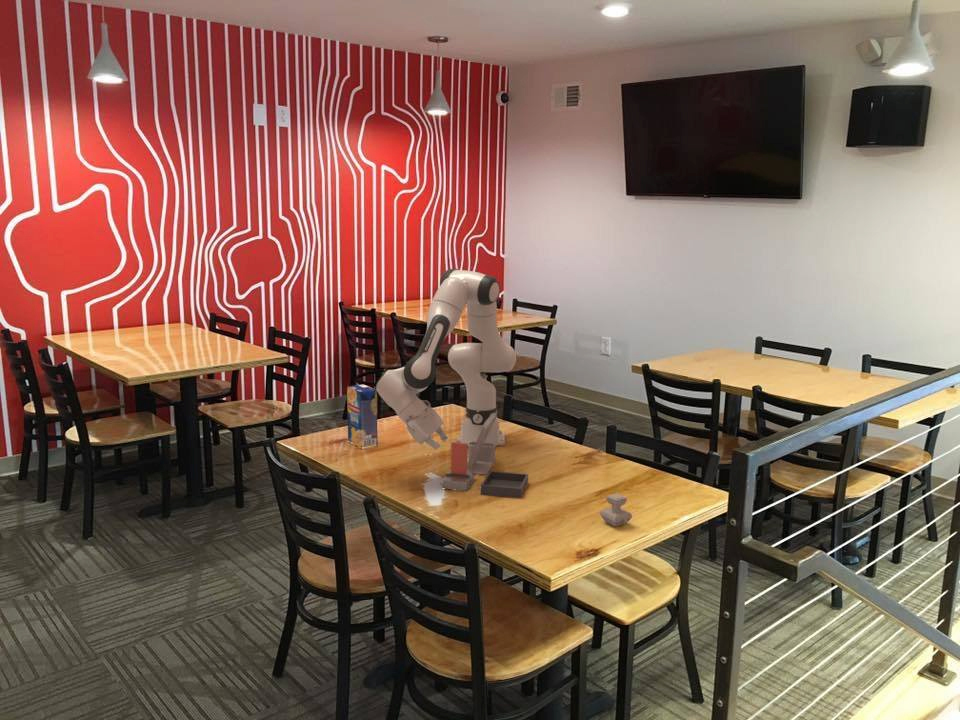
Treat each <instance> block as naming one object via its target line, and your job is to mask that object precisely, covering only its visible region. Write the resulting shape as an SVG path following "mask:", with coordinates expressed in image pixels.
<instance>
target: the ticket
mask: <svg viewBox="0 0 960 720" xmlns="http://www.w3.org/2000/svg"><path fill="white" fill-rule="evenodd" d="M450 445H451V446H450V448H451V450H450V452H451V453H450V454H451V455H450V467H451V468H450V470H451V474H458V475H467V459H468V446H467V443H462V442H459V441H452V442H451V443H450Z"/></svg>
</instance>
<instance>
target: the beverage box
mask: <svg viewBox="0 0 960 720" xmlns="http://www.w3.org/2000/svg"><path fill="white" fill-rule="evenodd" d="M346 395H347V397H346V400H347V401H346V402H347V441H348V440H349V441H350V442H352V443H354V444H356V445H358V446H359V447H361V448H362V447H368V446H373V445H378V392H377V390H376V388H373V387H370V386H368V385H366V384H364V383H363V384H355V385H349V386H347V387H346Z"/></svg>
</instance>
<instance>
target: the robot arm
mask: <svg viewBox="0 0 960 720" xmlns="http://www.w3.org/2000/svg"><path fill="white" fill-rule="evenodd" d="M500 291H501V287H500V282H499V281H498V280H497V278H496V277H494V276H492V275H489V274H484V273H482V272H477V271H474V270H465V269H458V268H449V269H447V270H446V271H444V272H443V273H442V275H441V276H440V279H439V287H438V289H437V290H436V292H435V294H434V296H433V298H432V301H431V303H430V306H429V308H428V312H427V314H426V319H425V321H426V325H427V326H426V331H425V335H424V337H423V339H422V342H421V343H420V346H419V349H418V351H417V352H416V354H414V356H413V357H411V358H410V359H409V360H408V361H407V363H406V364H405V365H404V366H402V367H399V368H396V369H387V370H385V371H384V372H383V374H382V375H381V376H380V378H378V380H377V382H376V386H375V389H376V390H377V394H378V395H379V396H380V397H381V399H382V400H383V401H384V402H385V403H386V404H387V406H389V407H390V408H392V410H393V411H395V414H396V415H397V416H398V418H399V419H400V420H401V421H402V422H403V423H404V424H405V425H406V430H407V432H408V433H409V434H410V435H411V436H412V438H413V439H414V441H416V442H417V444H419V445H423V444H424V443H426V444H427V445H428V446H429V447H432V448H433V449H434V450H435V451H437V450H439V449H440V448H441V444H440V443H439V442H438V441H436V440H434V438H433V436H432V435H433V434H435V433H436V434H437V435H439V437H440V440H441V441H442V442H444V443H445V442H446V441H447V440H448V438H449V436H448V435H447V434H446V433H445V431H444V428H443V427H442V425H444V420H443V419H442V417H441V416H440V415H439V413H438V412H437V411H436V410H435V409H434V408H433V407H432V406H431V403H430V402H429V401H428V400H422V399H420V398H419V397H418V396H417V394H420V393H421V392H423V391H425V390H426V389H427V388H428V387H429V386H431V384H432V383H433V382H434V380H435V377H436V371H437V370H436V361H437V357H438V356H439V352H440V350H441V348H442V345H443V343H444V341H445V339H446V338H447V336H449V334H450V333H452V332H453V330H454V329H455V328H456V326H457V325H458V322H459V321H460V319H461V317H462V314H463V313H464V312H463V311H464V309H465V306H466V329H467V332H468V333H469V334H470V335H471V336H472V337H474V338H475V339H477V340H479V341H480V342H461V343H456V344H453V345H452V346H451V347H450V348H449V351H448V354H447V360H448V365H449V366H450V368H452V369H453V370H454V371H455V372H457V374H458V375H459V376H460V377H461V379H462V381H463V382H464V384H465V389H466V406H465V411H464V412H465V418H463V419H462V421H461V426H460V427H461V429H460V430H461V432H460V435H459V436H458V437H457V439H456V442H461V443H467V447H468V444H469V443H470V442H477V439H478V437H479V434H480V432H481V429H482V427H483V425H484V423H485V422H486V420H487V419H488V418H489V417H490V416H491V414H492V413H494V414H496V415H497V416H496V419H495V422H494V424H493V426H492V428H491V430H490V432H489V434H488V435H487V437H486V439H485V442H484V443H493V444H495V447H496V446H497V447H498V446H504V445H505V444H506V439H505V438H506V436H505V435H506V434H505V431H503V430H500V420H499V418H498V409H497V390H496V387H495V385H494V384H493V383H492V382H490V381H488V380H487V379H485V378H483V377H482V375H481V373H504V372H509V371H510V372H511V371H512V370H513V368H514V367H515V365H516V362H517V355H516V354H517V353H516V351H515V350H514V348H513V347H512V346H511V345H510V344H508V343H507V342H506V341H505V340H504V339H503V337H502V336H501V334H500V332H499V331H500V330H499V328H498V316H497V315H498V313H497V312H498V308H497V300H498V298H499V296H500ZM481 342H482V343H481Z"/></svg>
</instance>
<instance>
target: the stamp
mask: <svg viewBox="0 0 960 720" xmlns="http://www.w3.org/2000/svg"><path fill="white" fill-rule="evenodd" d="M605 500H606V501H607V503H608V504H609V505H611V507H609V508H605V509H601V510H600V512H599V515H600V516H601V518H602V520H603V521H604V522H605V523H607V524H609V525H611V526H613V527H619V526H622V525H626V524H628V522H630V520H631V519H632V518H633V514H632V513H631V512H630V511H627V510H626V509H624V508H621V507H622V506H624V505H626V503H627V501H628V500H627V497H626V496H624V495H621V494H619V493H614V494H610V495H607V496H606V498H605Z"/></svg>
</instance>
